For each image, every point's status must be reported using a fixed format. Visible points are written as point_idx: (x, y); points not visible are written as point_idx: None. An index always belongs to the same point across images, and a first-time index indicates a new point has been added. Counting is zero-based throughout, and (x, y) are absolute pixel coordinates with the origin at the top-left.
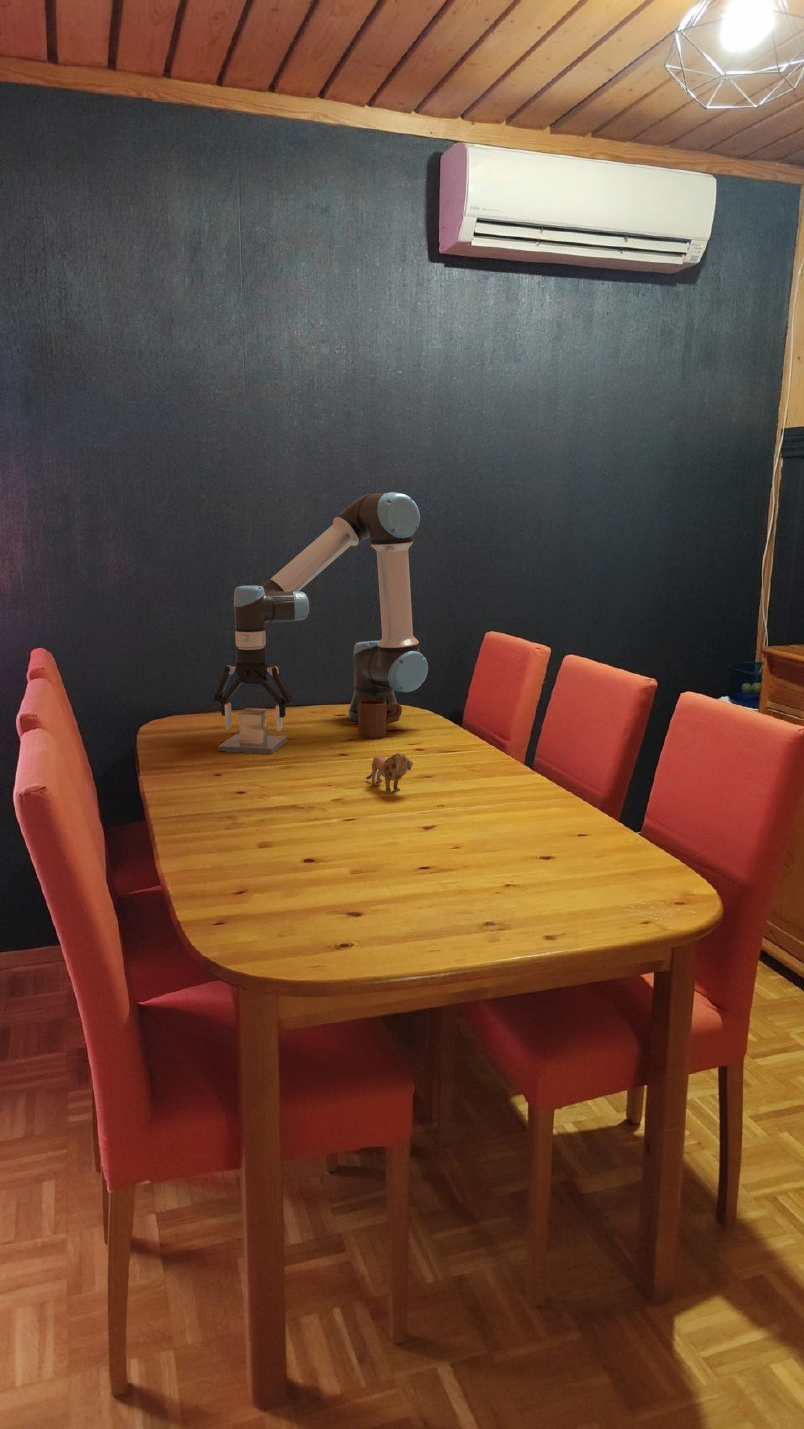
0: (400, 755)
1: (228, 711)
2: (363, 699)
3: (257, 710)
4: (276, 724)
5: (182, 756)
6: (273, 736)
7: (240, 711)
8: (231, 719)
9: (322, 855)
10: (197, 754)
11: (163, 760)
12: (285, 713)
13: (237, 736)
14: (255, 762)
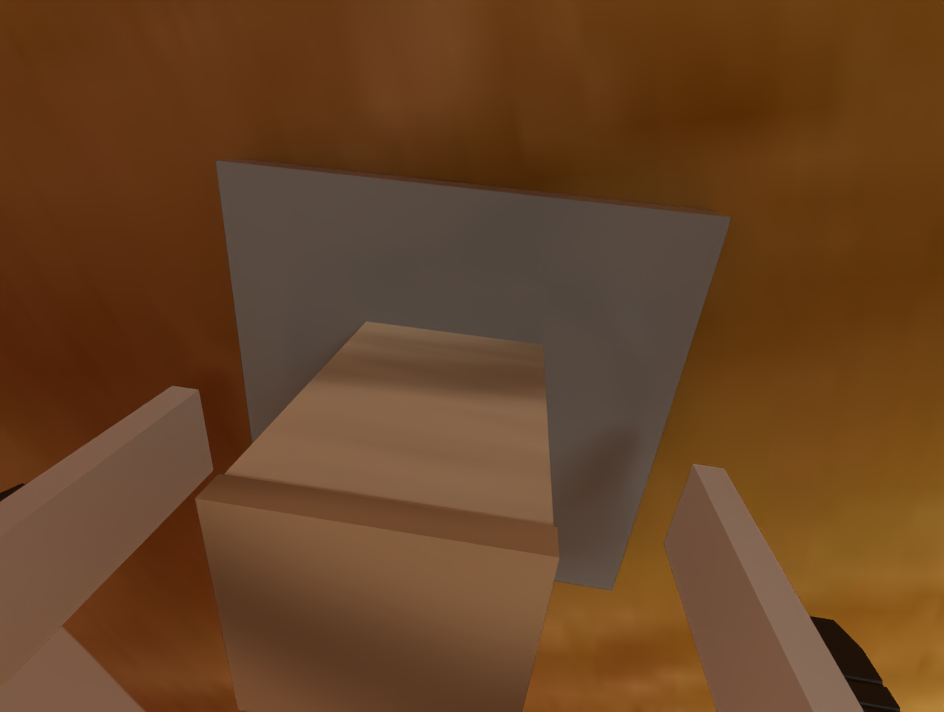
0: None
1: (63, 592)
2: None
3: (436, 643)
4: (682, 600)
5: (154, 580)
6: (589, 239)
7: (235, 678)
8: (140, 433)
9: None
10: (202, 552)
11: (118, 629)
12: (872, 672)
13: (266, 261)
14: (538, 680)
